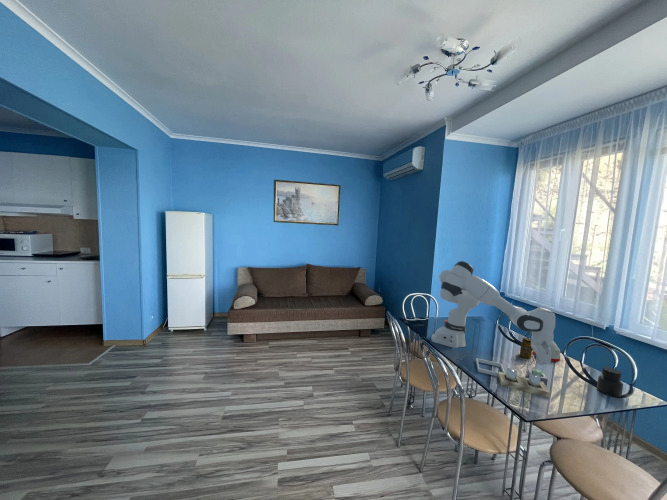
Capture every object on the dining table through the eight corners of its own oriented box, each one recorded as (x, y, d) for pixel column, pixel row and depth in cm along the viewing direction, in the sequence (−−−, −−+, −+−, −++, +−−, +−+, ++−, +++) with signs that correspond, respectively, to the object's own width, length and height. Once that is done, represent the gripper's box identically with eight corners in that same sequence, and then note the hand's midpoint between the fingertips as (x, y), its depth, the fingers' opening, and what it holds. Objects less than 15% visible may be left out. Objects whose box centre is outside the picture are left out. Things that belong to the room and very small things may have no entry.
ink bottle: (627, 397, 133) (631, 374, 132) (613, 399, 131) (617, 376, 130) (603, 386, 143) (607, 364, 142) (591, 387, 141) (594, 365, 140)
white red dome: (529, 354, 176) (532, 332, 175) (536, 349, 184) (539, 328, 183) (556, 363, 165) (559, 340, 164) (562, 357, 174) (565, 335, 172)
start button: (533, 377, 143) (534, 371, 143) (531, 373, 146) (532, 368, 146) (542, 379, 141) (543, 373, 141) (540, 375, 145) (541, 370, 145)
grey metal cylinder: (529, 389, 134) (531, 376, 133) (526, 385, 138) (528, 372, 138) (540, 392, 133) (542, 379, 132) (537, 387, 137) (538, 374, 136)
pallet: (500, 386, 137) (501, 381, 137) (497, 376, 146) (498, 371, 146) (548, 398, 129) (549, 392, 129) (542, 387, 138) (543, 381, 138)
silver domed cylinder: (506, 384, 138) (508, 371, 138) (504, 379, 142) (506, 367, 142) (516, 386, 136) (518, 373, 136) (514, 382, 141) (516, 369, 140)
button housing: (530, 382, 142) (531, 375, 142) (527, 375, 149) (527, 369, 148) (546, 386, 139) (547, 378, 139) (542, 379, 146) (543, 372, 145)
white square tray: (477, 372, 149) (478, 368, 149) (475, 361, 161) (476, 358, 161) (505, 379, 144) (506, 374, 144) (501, 367, 156) (501, 363, 156)
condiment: (533, 358, 170) (536, 340, 169) (528, 361, 166) (530, 342, 165) (520, 353, 176) (523, 335, 175) (515, 356, 172) (517, 338, 171)
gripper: (556, 347, 131) (552, 374, 132) (543, 333, 150) (540, 356, 151) (541, 344, 133) (537, 371, 135) (529, 330, 152) (526, 354, 153)
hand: (538, 363), depth 143 cm, fingers closed
